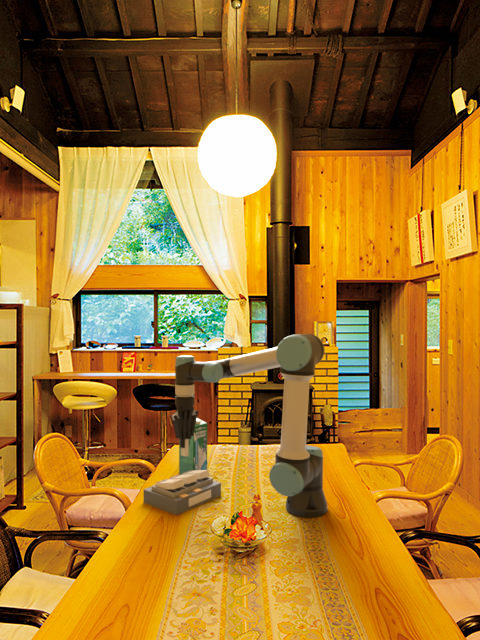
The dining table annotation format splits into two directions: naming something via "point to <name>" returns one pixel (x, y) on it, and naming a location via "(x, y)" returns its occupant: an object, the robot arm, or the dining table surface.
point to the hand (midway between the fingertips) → (184, 455)
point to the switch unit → (183, 495)
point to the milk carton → (195, 450)
